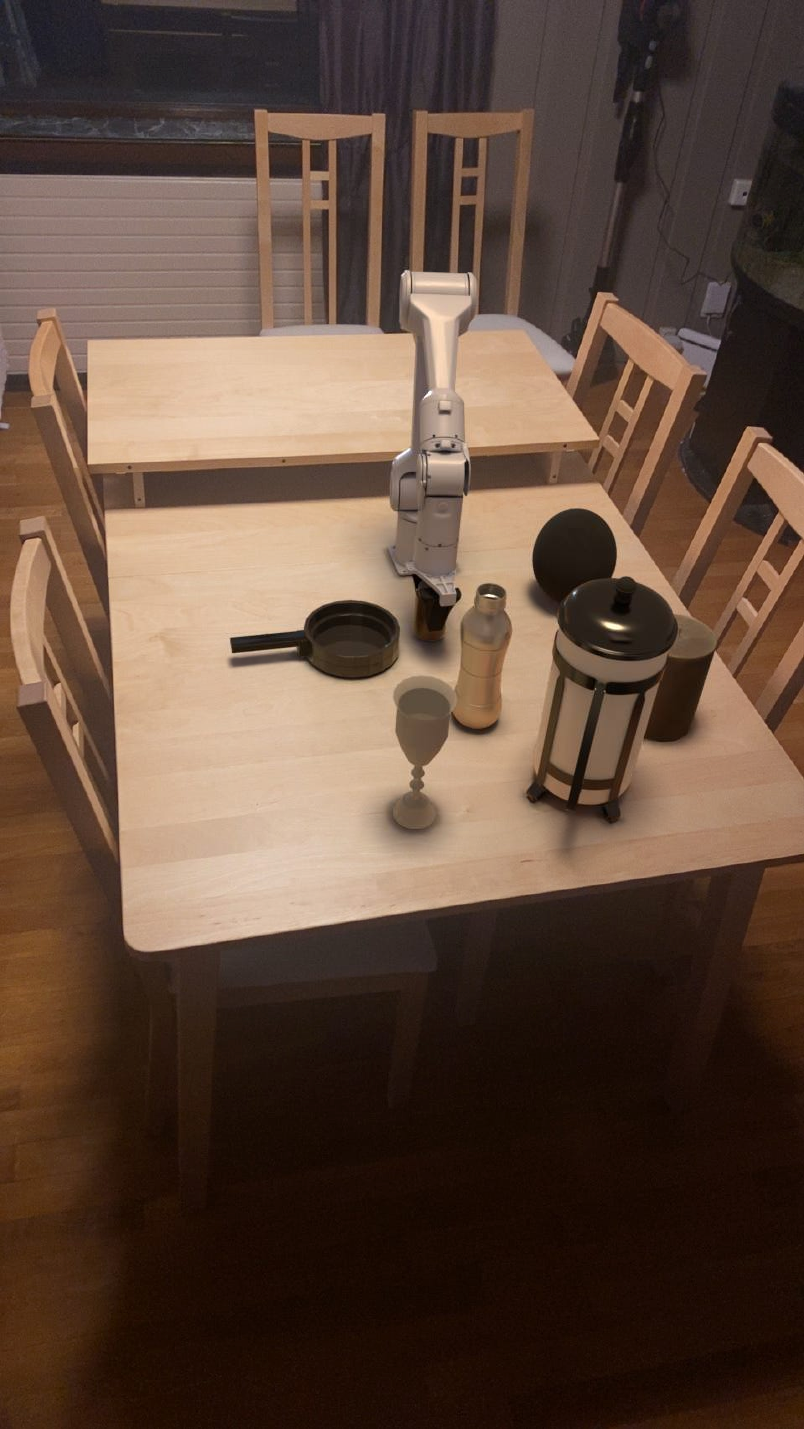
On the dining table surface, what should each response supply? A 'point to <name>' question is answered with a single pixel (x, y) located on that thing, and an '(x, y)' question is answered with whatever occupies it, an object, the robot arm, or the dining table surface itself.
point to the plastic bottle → (482, 658)
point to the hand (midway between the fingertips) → (430, 618)
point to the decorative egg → (573, 552)
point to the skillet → (352, 638)
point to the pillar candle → (682, 680)
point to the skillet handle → (270, 642)
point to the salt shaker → (423, 619)
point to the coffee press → (601, 691)
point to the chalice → (420, 740)
